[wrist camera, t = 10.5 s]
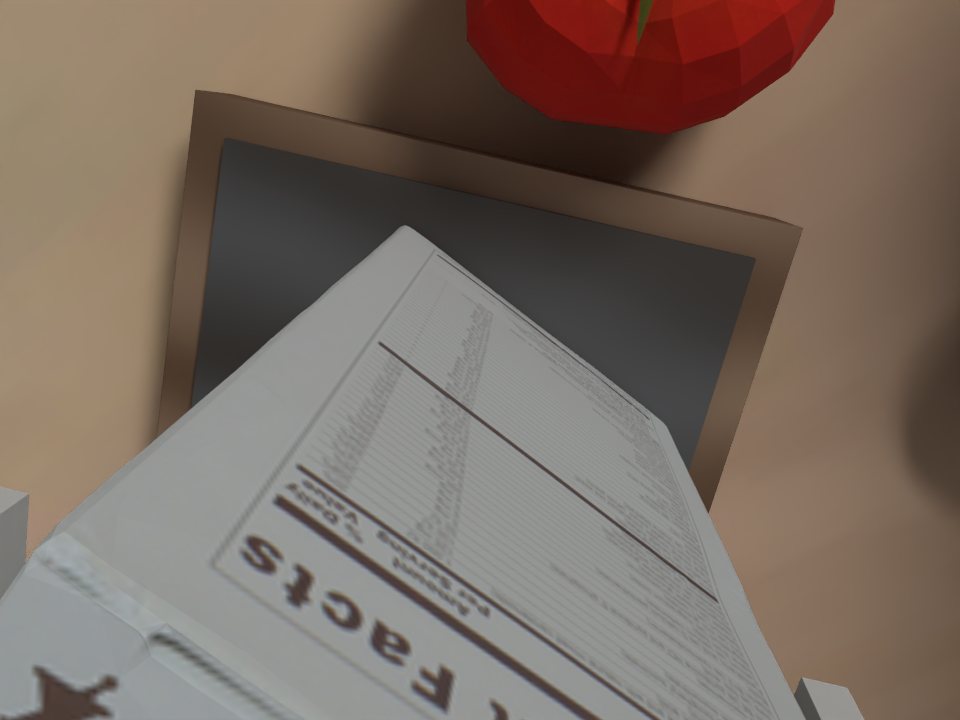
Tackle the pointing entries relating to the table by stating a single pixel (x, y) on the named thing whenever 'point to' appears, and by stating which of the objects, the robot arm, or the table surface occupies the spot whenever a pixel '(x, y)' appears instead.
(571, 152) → the table surface
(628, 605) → the supplement box
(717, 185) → the table surface
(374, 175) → the picture frame
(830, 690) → the robot arm
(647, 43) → the tomato
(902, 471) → the table surface
